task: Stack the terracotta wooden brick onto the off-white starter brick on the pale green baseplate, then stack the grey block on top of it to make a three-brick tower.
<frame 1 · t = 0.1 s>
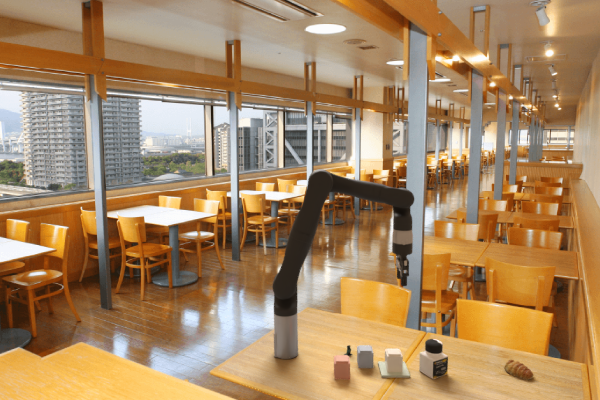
hand: (401, 282, 174), 29 cm above the table, fingers open, 8 cm apart
medicine bottle: (433, 373, 164), on the table
tower base: (393, 370, 165), on the table
brick terracotta: (341, 375, 163), on the table
sculpture: (347, 356, 178), on the table
pastry: (517, 373, 162), on the table
grey block: (365, 364, 170), on the table
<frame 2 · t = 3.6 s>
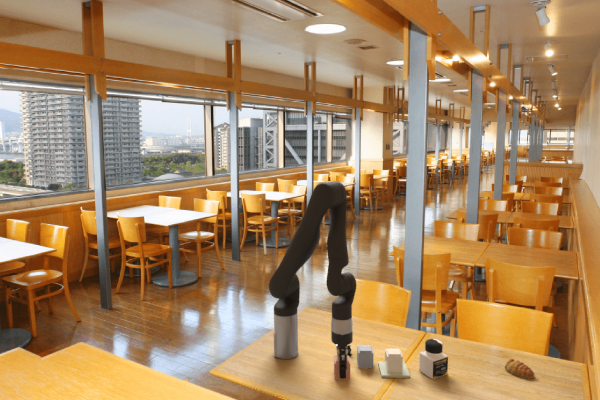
hand: (342, 373, 163), 1 cm above the table, fingers closed on brick terracotta, 5 cm apart
brick terracotta: (342, 375, 163), on the table, touching gripper
when the fingers open (9 cm above the table, at t = 7.2 s): brick terracotta stays where it is, resting on tower base.
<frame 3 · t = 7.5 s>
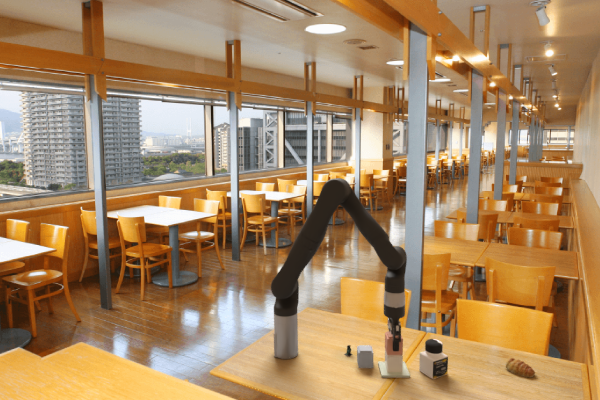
hand: (393, 345, 164), 10 cm above the table, fingers open, 8 cm apart
brick terracotta: (393, 351, 164), point 7 cm above the table, touching tower base
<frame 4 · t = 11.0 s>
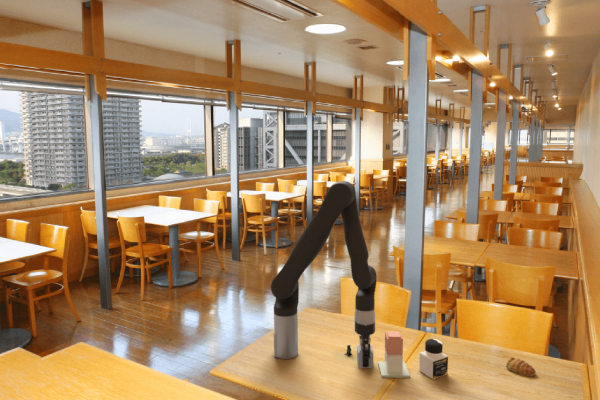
hand: (364, 362, 170), 1 cm above the table, fingers closed on grey block, 5 cm apart
grey block: (365, 364, 170), on the table, touching gripper
when the fingers open (16 cm above the table, at t = 15.4 s): grey block stays where it is, resting on brick terracotta.
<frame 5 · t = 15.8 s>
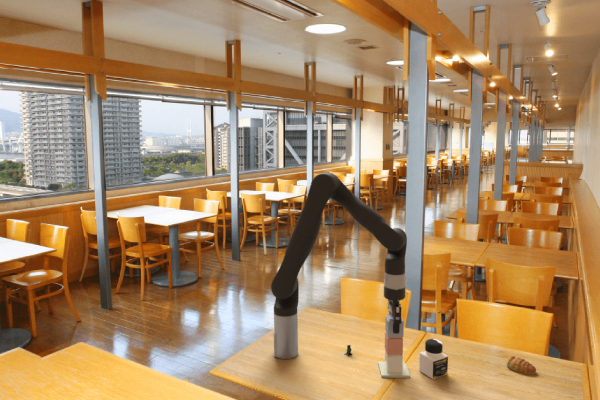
hand: (394, 328, 163), 16 cm above the table, fingers open, 8 cm apart
brick terracotta: (393, 351, 164), point 7 cm above the table, touching grey block, tower base
pastry: (520, 369, 165), on the table
grey block: (394, 333, 164), point 14 cm above the table, touching brick terracotta
everything else where it was.
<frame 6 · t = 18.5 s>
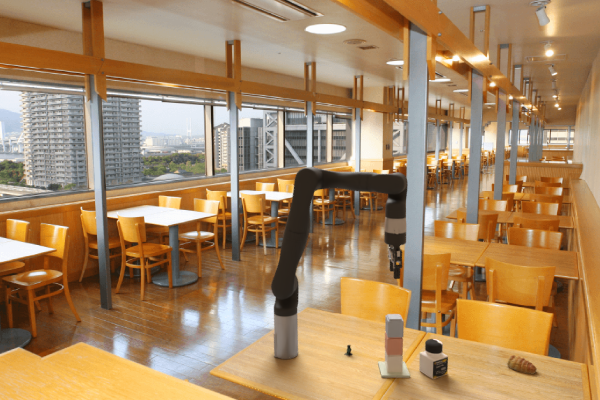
hand: (394, 274, 160), 36 cm above the table, fingers open, 8 cm apart
at the end: brick terracotta 0.0 cm off-centre on the tower base, point 7.4 cm above the tower base's base; grey block 0.1 cm off-centre on the tower base, point 14.0 cm above the tower base's base; grey block tilted 0° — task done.
